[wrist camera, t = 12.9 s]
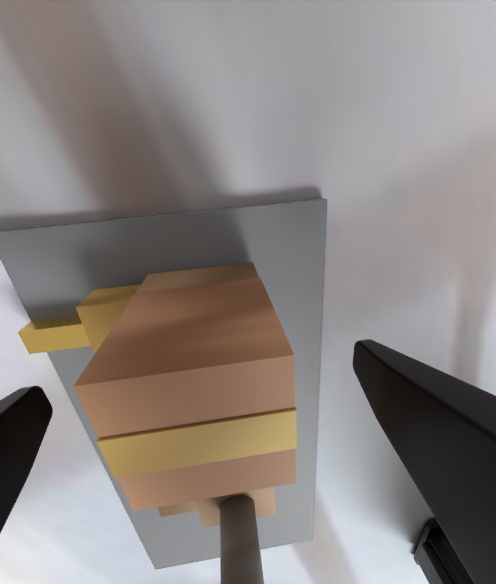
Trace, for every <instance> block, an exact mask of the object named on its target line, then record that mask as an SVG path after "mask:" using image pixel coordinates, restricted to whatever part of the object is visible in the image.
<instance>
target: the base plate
mask: <svg viewBox="0 0 496 584" xmlns="http://www.w3.org/2000/svg"><path fill="white" fill-rule="evenodd" d="M326 213H327V199H323V198H322V199H312V200H302V201H293V202H283V203H273V204H263V205H253V206H243V207H233V208H223V209H213V210H203V211H193V212H183V213H173V214H163V215H153V216H144V217H134V218H124V219H114V220H104V221H94V222H84V223H74V224H64V225H54V226H44V227H34V228H24V229H14V230H4V231H0V259H1V261H2V263H3V265H4V267H5V269H6V271H7V273H8V275H9V277H10V279H11V281H12V283H13V285H14V287H15V289H16V291H17V293H18V295H19V297H20V299H21V301H22V303H23V305H24V307H25V309H26V311H27V313H28V315H29V317H30V319H31V321H37V320H45V319H53V318H61V317H69V316H77V315H78V312H77V310H76V307H77V306H78V305H79V304H80V303H81V302H82V301H83V300H84V299H85V298H86V297H87V296H88V295H89V294H90V293H91V292H92V291H93V290H98V289H106V288H115V287H123V286H132V285H140V284H142V282H143V281H144V279H145V278H146V276H147V275H148V274H154V273H163V272H171V271H180V270H189V269H197V268H206V267H215V266H223V265H232V264H241V263H249V262H253V264H254V266H255V269H256V271H257V273H258V276H259V278H261V280H262V282H263V284H264V286H265V289H266V291H267V293H268V296H269V298H270V300H271V303H272V305H273V307H274V310H275V312H276V314H277V316H278V319H279V321H280V323H281V326H282V328H283V330H284V333H285V335H286V337H287V340H288V342H289V344H290V346H291V349H292V351H293V353H294V377H295V408H296V412H297V448H296V449H295V458H296V483H293V484H287V485H282V486H276V487H274V491H275V506H276V515H272V516H266V517H261V518H256V521H257V529H258V538H259V546H260V550H261V549H266V548H271V547H277V546H282V545H287V544H292V543H297V542H303V541H308V540H313V527H314V503H315V479H316V455H317V430H318V406H319V382H320V358H321V334H322V310H323V286H324V261H325V237H326ZM47 353H48V355H49V357H50V359H51V361H52V363H53V365H54V367H55V369H56V371H57V373H58V375H59V377H60V379H61V381H62V383H63V385H64V387H65V389H66V391H67V393H68V395H69V397H70V399H71V401H72V403H73V405H74V407H75V409H76V411H77V413H78V415H79V417H80V419H81V421H82V423H83V425H84V427H85V429H86V431H87V433H88V435H89V437H90V439H91V441H92V443H93V445H94V447H95V449H96V451H97V453H98V455H99V457H100V459H101V461H102V463H103V465H104V467H105V469H106V471H107V473H108V475H109V477H110V479H111V481H112V483H113V485H114V487H115V489H116V491H117V493H118V495H119V497H120V499H121V501H122V503H123V505H124V507H125V509H126V511H127V513H128V515H129V517H130V519H131V521H132V523H133V525H134V527H135V529H136V531H137V533H138V535H139V537H140V539H141V541H142V543H143V545H144V547H145V549H146V551H147V553H148V555H149V557H150V559H151V561H152V563H153V565H154V567H155V569H161V568H166V567H172V566H177V565H182V564H187V563H193V562H198V561H203V560H208V559H214V558H219V557H220V525H217V526H211V527H206V528H203V526H202V522H201V519H200V515H199V512H198V511H193V512H187V513H182V514H176V515H170V516H165V517H161V516H160V513H159V511H158V509H157V507H156V508H151V509H145V510H139V511H134V512H133V510H132V508H131V505H130V503H129V501H128V499H127V497H126V495H125V493H124V491H123V489H122V487H121V485H120V483H119V481H118V479H117V478H114V476H113V474H112V472H111V470H110V468H109V466H108V464H107V462H106V460H105V458H104V456H103V454H102V452H101V450H100V448H99V446H98V444H97V440H98V437H97V435H96V433H95V431H94V429H93V427H92V425H91V423H90V420H89V418H88V416H87V414H86V412H85V410H84V408H83V406H82V404H81V402H80V400H79V398H78V396H77V393H76V391H75V389H74V387H73V386H74V384H75V383H76V381H77V380H78V378H79V377H80V375H81V374H82V372H83V371H84V369H85V368H86V366H87V365H88V363H89V362H90V360H91V359H92V357H93V356H94V351H93V349H92V346H85V347H77V348H70V349H62V350H55V351H47Z"/></svg>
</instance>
